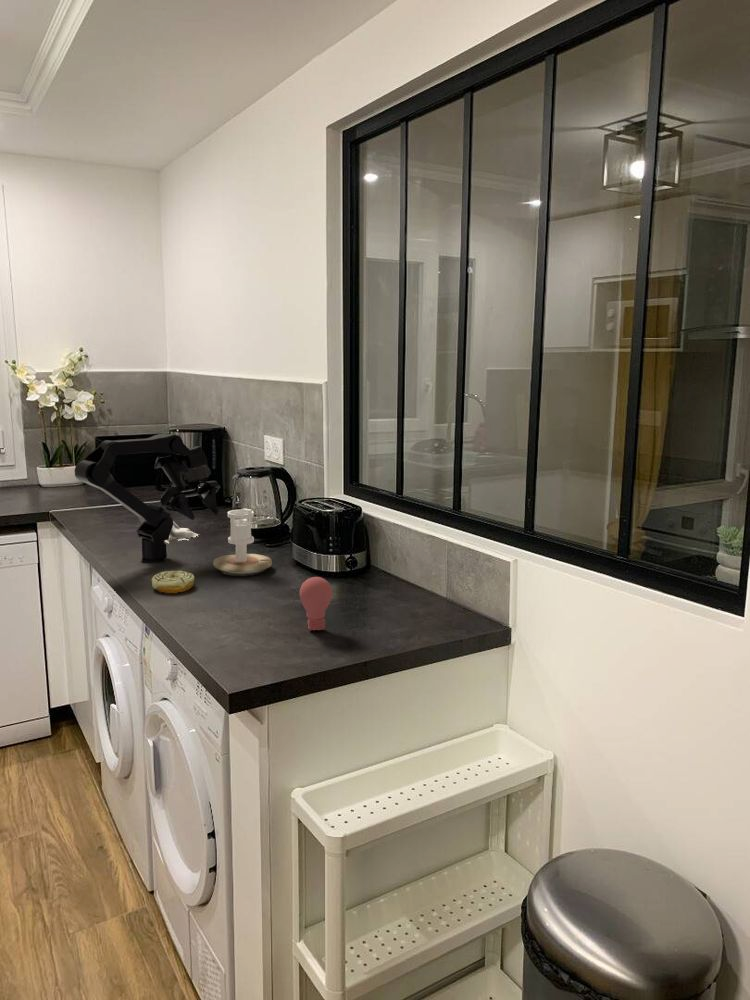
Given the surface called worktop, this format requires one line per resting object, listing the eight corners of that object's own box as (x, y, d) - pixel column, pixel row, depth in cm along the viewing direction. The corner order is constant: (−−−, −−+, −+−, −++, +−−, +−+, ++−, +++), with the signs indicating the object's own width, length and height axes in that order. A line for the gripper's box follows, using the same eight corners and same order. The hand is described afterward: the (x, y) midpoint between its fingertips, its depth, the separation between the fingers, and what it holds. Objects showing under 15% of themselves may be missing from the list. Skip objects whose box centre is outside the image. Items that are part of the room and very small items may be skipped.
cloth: (145, 547, 233) (144, 528, 232) (133, 535, 249) (133, 516, 248) (215, 541, 243) (215, 522, 242) (199, 529, 260) (199, 512, 258)
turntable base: (221, 576, 202) (220, 571, 202) (220, 564, 214) (220, 559, 213) (265, 575, 205) (265, 569, 204) (263, 563, 216) (263, 558, 216)
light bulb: (299, 624, 167) (299, 572, 165) (331, 624, 168) (332, 573, 166) (298, 636, 160) (299, 582, 158) (332, 636, 161) (333, 582, 159)
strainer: (242, 565, 204) (241, 511, 201) (223, 561, 207) (222, 508, 204) (259, 560, 210) (258, 507, 207) (240, 556, 213) (239, 504, 210)
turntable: (213, 573, 200) (213, 569, 199) (213, 557, 215) (213, 554, 215) (273, 571, 203) (273, 567, 203) (269, 556, 218) (269, 552, 218)
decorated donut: (147, 595, 186) (147, 580, 185) (157, 582, 196) (156, 568, 196) (190, 595, 186) (189, 580, 186) (197, 582, 197) (197, 568, 196)
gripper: (166, 459, 205) (195, 504, 202) (215, 453, 221) (243, 494, 217) (147, 484, 211) (175, 528, 207) (196, 477, 226) (223, 517, 223)
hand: (205, 516), depth 213 cm, fingers open, 9 cm apart
